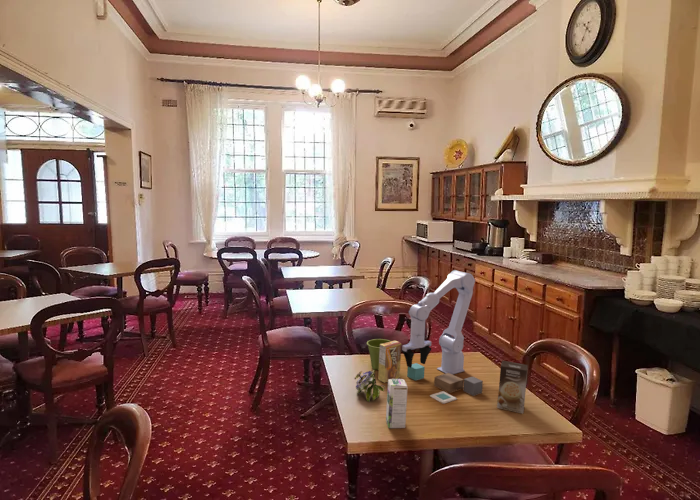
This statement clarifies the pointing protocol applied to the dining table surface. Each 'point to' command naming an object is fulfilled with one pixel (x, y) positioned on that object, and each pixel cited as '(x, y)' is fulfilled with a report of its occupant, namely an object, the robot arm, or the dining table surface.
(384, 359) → the candy box
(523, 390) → the coffee box
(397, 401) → the syrup box
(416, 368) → the teal cube
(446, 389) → the walnut block
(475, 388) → the charcoal cube
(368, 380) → the passion flower
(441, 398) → the card
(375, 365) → the plant pot
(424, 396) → the dining table surface
